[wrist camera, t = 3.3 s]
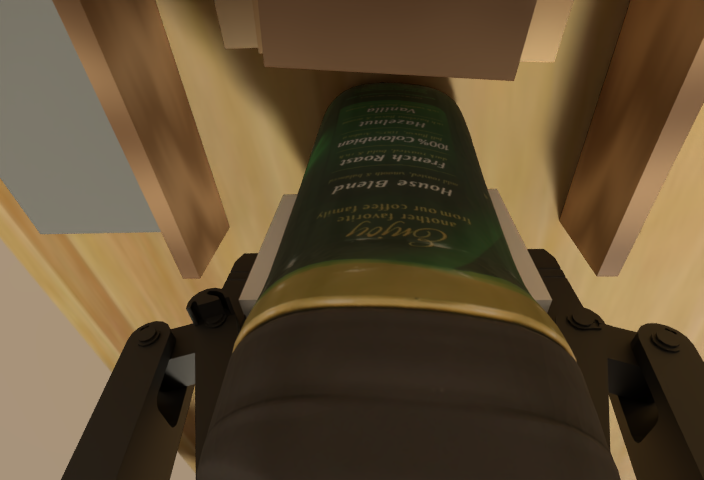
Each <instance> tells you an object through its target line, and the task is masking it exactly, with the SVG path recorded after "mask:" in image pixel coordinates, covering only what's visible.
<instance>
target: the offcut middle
mask: <svg viewBox="0 0 704 480" xmlns="http://www.w3.org/2000/svg"><path fill="white" fill-rule="evenodd" d="M573 2H574V0H537V2H536V6H535V9H534V13H533V16H532V20H531V23H530V27H529V30H528V34H527V37H526V41H525V44H524V48H523V51H522V55H521V58H520V61H525V62H555V58H556V55H557V52H558V49H559V46H560V43H561V39H562V36H563V33H564V30H565V27H566V24H567V21H568V17H569V14H570V11H571V8H572V5H573ZM252 4H253V12H254V20H255V28H256V36H257V44H258V52H259V54H263V49H262V39H261V29H260V19H259V9H258V0H252Z"/></svg>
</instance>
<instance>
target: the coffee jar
mask: <svg viewBox="0 0 704 480" xmlns="http://www.w3.org/2000/svg"><path fill="white" fill-rule="evenodd" d="M197 480H620V476H619V472H618V469H617V467H616V465H615V462H614V460H613V457H612V455H611V452H610V450H609V447H608V445H607V442H606V439H605V436H604V432H603V429H602V426H601V423H600V420H599V417H598V414H597V412H596V409H595V406H594V404H593V401H592V398H591V396H590V393H589V390H588V387H587V385H586V382H585V379H584V376H583V374H582V372H581V369H580V367H579V366H578V364H577V362H576V358H575V356H574V354H573V352H572V350H571V348H570V346H569V345H568V343H567V341H566V339H565V337H564V336H563V334H562V333H561V331H560V330H559V328H558V326H557V325H556V324H555V323H554V321H553V320H552V319H551V317H550V316H549V315H548V314H547V312H546V311H545V310H544V309H543V308H542V307H541V306H540V305H539V304H538V303H537V302H536V301H535V300H534V298H533V297H532V296H531V294H530V293H529V291H528V289H527V288H526V286H525V284H524V282H523V280H522V278H521V276H520V274H519V272H518V270H517V268H516V265H515V263H514V260H513V258H512V255H511V252H510V250H509V247H508V244H507V242H506V239H505V236H504V233H503V231H502V228H501V225H500V222H499V219H498V217H497V214H496V211H495V208H494V206H493V203H492V200H491V197H490V195H489V192H488V189H487V187H486V184H485V181H484V178H483V175H482V172H481V168H480V165H479V162H478V159H477V156H476V152H475V149H474V146H473V143H472V139H471V136H470V133H469V130H468V128H467V125H466V122H465V120H464V117H463V115H462V113H461V111H460V109H459V107H458V106H457V105H456V103H455V102H454V101H453V100H452V99H451V98H450V97H448V96H447V95H445V94H444V93H442V92H440V91H438V90H436V89H432V88H429V87H424V86H420V85H411V84H401V83H373V84H366V85H360V86H356V87H353V88H350V89H348V90H346V91H344V92H343V93H342V94H340V95H339V96H338V97H337V98H336V99H335V100H334V101H333V102H332V103H331V104H330V106H329V107H328V109H327V111H326V113H325V115H324V118H323V120H322V123H321V126H320V128H319V131H318V134H317V137H316V140H315V143H314V146H313V149H312V152H311V155H310V159H309V162H308V165H307V168H306V171H305V174H304V177H303V180H302V183H301V186H300V189H299V192H298V195H297V197H296V200H295V203H294V206H293V208H292V211H291V214H290V217H289V219H288V222H287V225H286V228H285V231H284V234H283V237H282V240H281V243H280V245H279V248H278V251H277V254H276V256H275V259H274V262H273V265H272V268H271V270H270V273H269V276H268V278H267V280H266V283H265V285H264V287H263V290H262V292H261V294H260V296H259V297H258V299H257V301H256V303H255V305H254V306H253V308H252V310H251V312H250V313H249V315H248V317H247V318H246V320H245V322H244V324H243V326H242V328H241V331H240V333H239V335H238V337H237V339H236V341H235V343H234V348H233V352H232V355H231V357H230V360H229V363H228V366H227V370H226V373H225V377H224V380H223V383H222V386H221V390H220V393H219V396H218V399H217V403H216V406H215V409H214V413H213V416H212V419H211V423H210V426H209V430H208V433H207V437H206V440H205V443H204V446H203V449H202V453H201V457H200V461H199V465H198V469H197Z"/></svg>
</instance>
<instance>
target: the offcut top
mask: <svg viewBox="0 0 704 480" xmlns="http://www.w3.org/2000/svg"><path fill="white" fill-rule="evenodd" d="M536 2H537V0H258V9H259V19H260V29H261V39H262V49H263V59H264V67H278V68H296V69H313V70H331V71H348V72H366V73H383V74H401V75H418V76H436V77H453V78H471V79H488V80H506V81H514V79H515V76H516V72H517V69H518V65H519V62H520V58H521V55H522V51H523V48H524V44H525V41H526V37H527V34H528V30H529V27H530V23H531V20H532V16H533V13H534V9H535V6H536Z"/></svg>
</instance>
